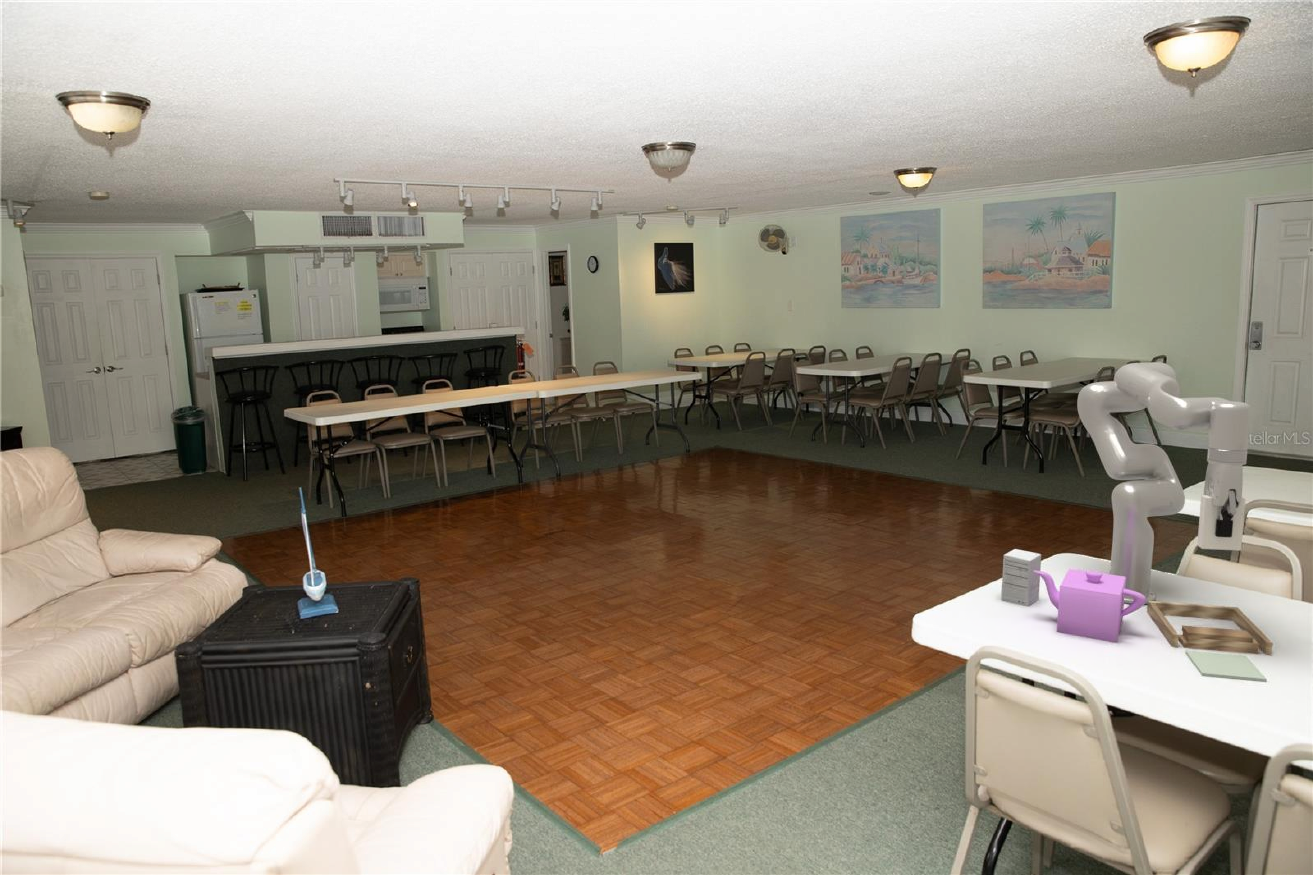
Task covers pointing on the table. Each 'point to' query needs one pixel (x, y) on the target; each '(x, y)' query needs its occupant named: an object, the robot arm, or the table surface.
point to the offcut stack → (1218, 639)
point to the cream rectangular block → (1208, 527)
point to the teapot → (1091, 603)
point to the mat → (1225, 666)
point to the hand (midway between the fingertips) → (1220, 533)
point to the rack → (1203, 611)
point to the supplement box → (1021, 577)
